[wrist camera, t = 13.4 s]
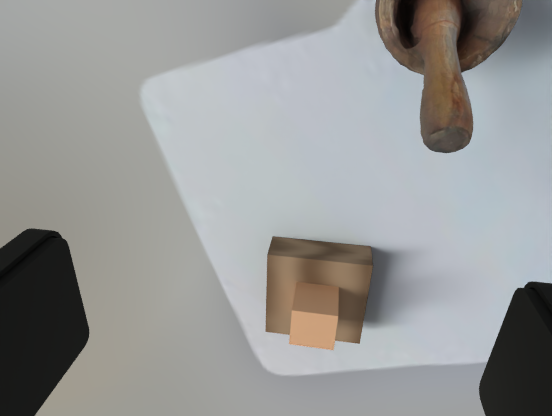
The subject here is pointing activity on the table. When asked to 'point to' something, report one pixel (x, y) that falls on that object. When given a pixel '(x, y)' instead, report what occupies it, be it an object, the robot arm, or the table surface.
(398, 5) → the mortar and pestle
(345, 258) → the walnut base
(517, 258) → the table surface
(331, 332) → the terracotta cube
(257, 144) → the table surface
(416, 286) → the table surface
